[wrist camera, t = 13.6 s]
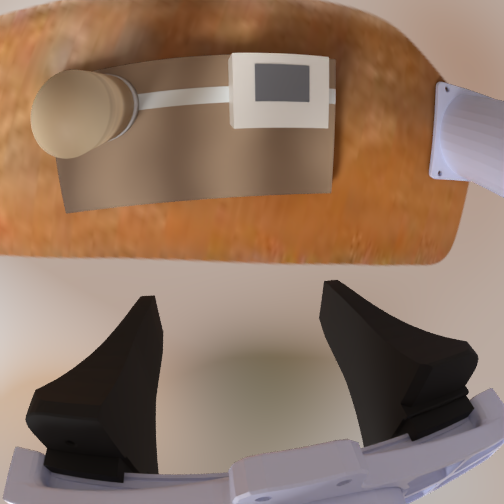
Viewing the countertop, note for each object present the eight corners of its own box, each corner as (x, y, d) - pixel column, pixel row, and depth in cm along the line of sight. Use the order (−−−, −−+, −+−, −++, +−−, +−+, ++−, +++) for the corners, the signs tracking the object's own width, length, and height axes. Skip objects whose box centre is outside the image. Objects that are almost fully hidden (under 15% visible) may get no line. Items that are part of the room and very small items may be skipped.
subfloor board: (328, 60, 18) (335, 59, 17) (325, 187, 22) (331, 193, 21) (56, 82, 16) (48, 82, 14) (72, 207, 20) (66, 213, 19)
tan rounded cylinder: (137, 69, 15) (108, 59, 10) (141, 135, 17) (114, 152, 12) (75, 82, 15) (27, 81, 10) (80, 144, 17) (35, 166, 12)
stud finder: (311, 61, 16) (329, 56, 14) (311, 123, 18) (328, 128, 16) (228, 59, 16) (232, 52, 13) (229, 124, 18) (234, 128, 15)
